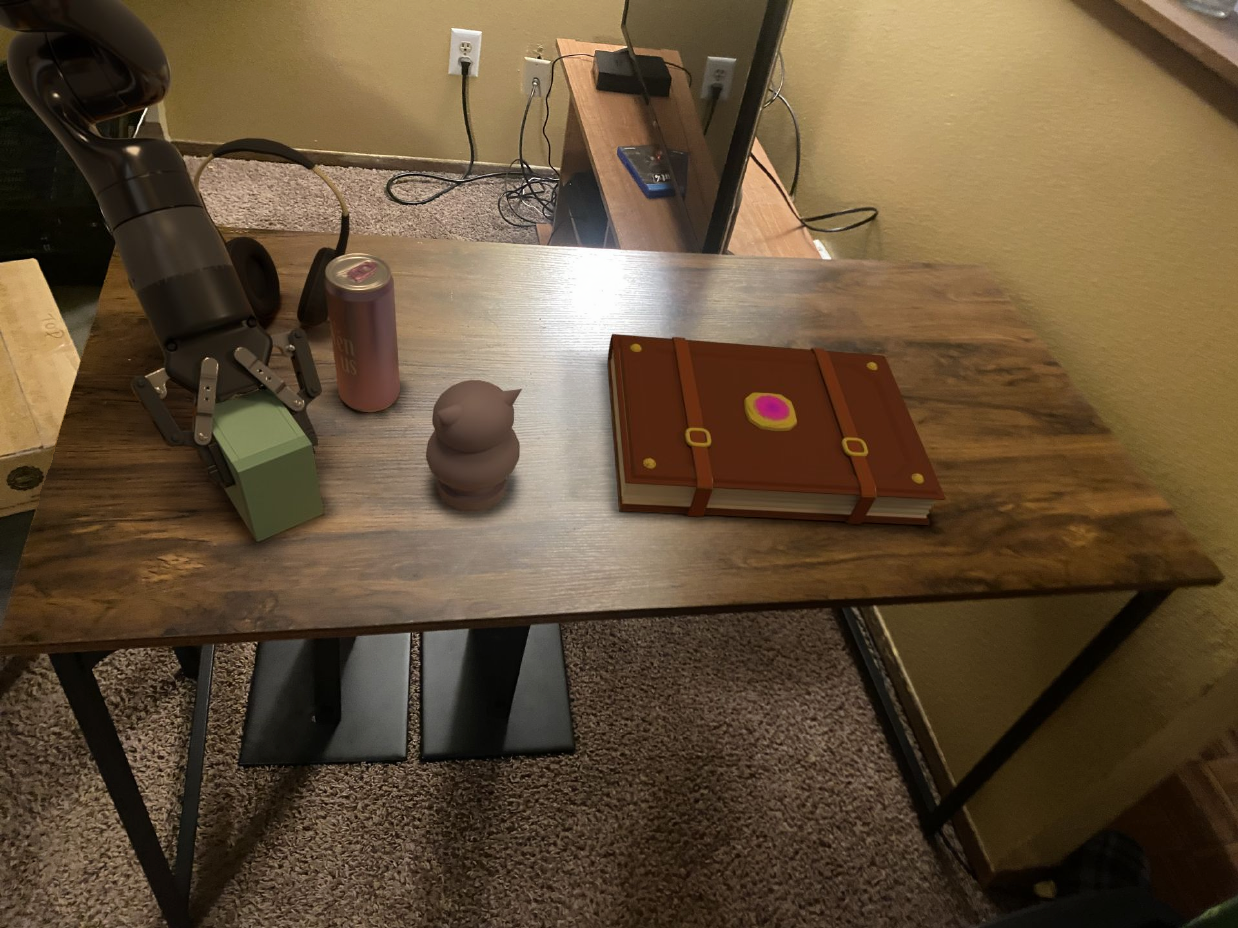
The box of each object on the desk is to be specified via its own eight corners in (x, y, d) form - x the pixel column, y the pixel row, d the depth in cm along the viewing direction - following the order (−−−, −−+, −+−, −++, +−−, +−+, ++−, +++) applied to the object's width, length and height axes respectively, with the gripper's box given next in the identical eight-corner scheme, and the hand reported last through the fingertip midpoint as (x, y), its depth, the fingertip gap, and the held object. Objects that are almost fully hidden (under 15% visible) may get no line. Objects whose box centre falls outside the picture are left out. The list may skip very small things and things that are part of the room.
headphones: (233, 283, 93) (193, 108, 79) (367, 299, 95) (353, 131, 81) (207, 331, 88) (159, 151, 73) (351, 347, 89) (332, 175, 75)
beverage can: (412, 393, 86) (407, 270, 75) (370, 424, 82) (358, 299, 71) (369, 367, 88) (357, 243, 77) (326, 396, 84) (307, 270, 73)
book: (928, 528, 84) (950, 496, 80) (619, 513, 79) (627, 478, 75) (868, 377, 99) (884, 345, 96) (606, 358, 94) (613, 322, 91)
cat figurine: (493, 443, 83) (499, 350, 74) (532, 498, 79) (542, 406, 70) (412, 471, 79) (408, 376, 70) (448, 530, 75) (449, 436, 66)
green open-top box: (219, 482, 75) (197, 409, 68) (285, 457, 78) (270, 385, 71) (257, 542, 71) (237, 472, 64) (324, 513, 74) (312, 443, 68)
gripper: (86, 292, 60) (186, 506, 63) (282, 243, 67) (363, 436, 70) (85, 311, 66) (176, 505, 69) (264, 264, 73) (340, 441, 77)
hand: (270, 469), depth 70 cm, fingers open, 6 cm apart
